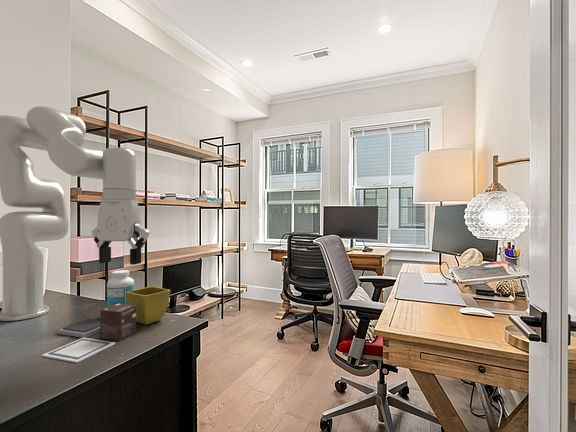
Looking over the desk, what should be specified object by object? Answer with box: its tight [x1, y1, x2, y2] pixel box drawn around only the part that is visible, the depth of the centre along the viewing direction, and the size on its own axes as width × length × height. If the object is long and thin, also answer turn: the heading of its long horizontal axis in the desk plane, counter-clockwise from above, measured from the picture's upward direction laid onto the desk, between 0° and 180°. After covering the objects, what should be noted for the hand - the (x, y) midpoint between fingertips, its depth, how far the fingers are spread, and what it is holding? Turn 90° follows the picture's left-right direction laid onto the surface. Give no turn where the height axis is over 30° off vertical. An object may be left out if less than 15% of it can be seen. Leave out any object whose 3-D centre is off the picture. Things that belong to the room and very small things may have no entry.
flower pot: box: [126, 285, 171, 325], centre depth 91 cm, size 9×9×9 cm
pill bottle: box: [106, 269, 135, 308], centre depth 96 cm, size 8×7×14 cm
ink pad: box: [57, 318, 100, 338], centre depth 84 cm, size 9×9×1 cm
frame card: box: [41, 337, 116, 363], centre depth 72 cm, size 10×10×1 cm
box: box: [99, 304, 137, 341], centre depth 81 cm, size 6×6×7 cm
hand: (120, 263), depth 80 cm, fingers open, 9 cm apart
